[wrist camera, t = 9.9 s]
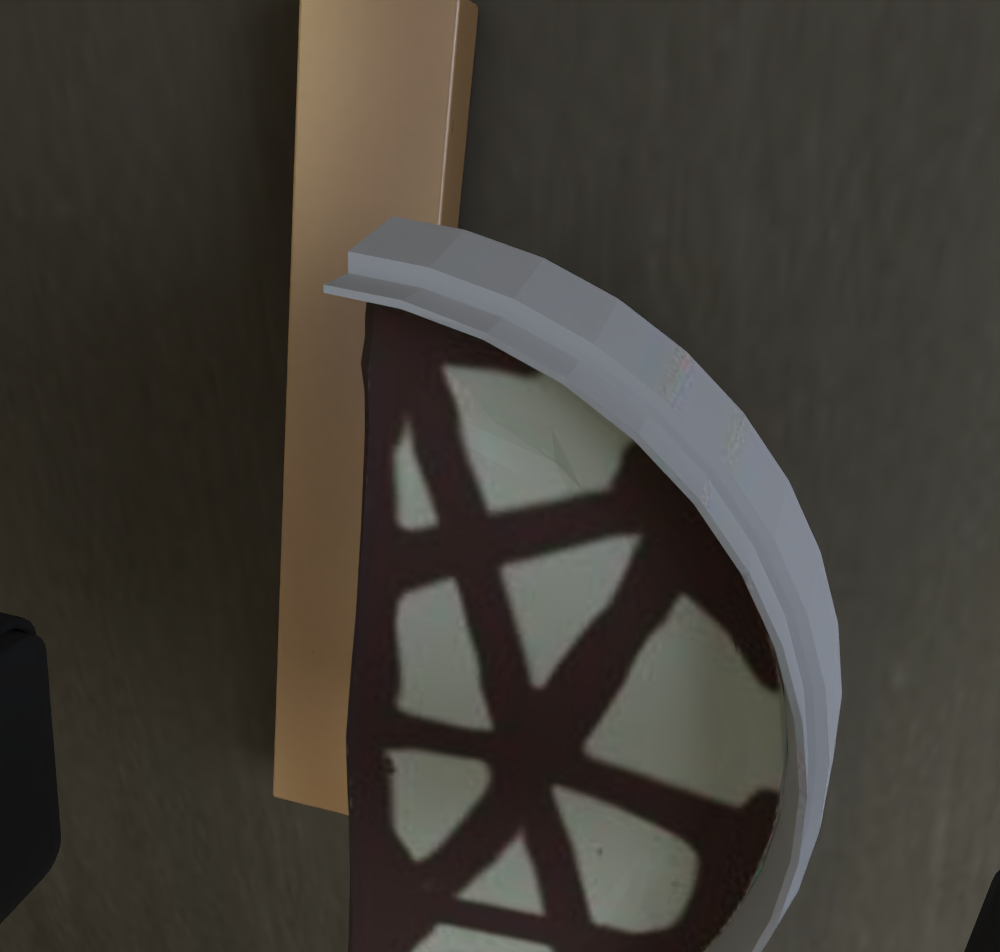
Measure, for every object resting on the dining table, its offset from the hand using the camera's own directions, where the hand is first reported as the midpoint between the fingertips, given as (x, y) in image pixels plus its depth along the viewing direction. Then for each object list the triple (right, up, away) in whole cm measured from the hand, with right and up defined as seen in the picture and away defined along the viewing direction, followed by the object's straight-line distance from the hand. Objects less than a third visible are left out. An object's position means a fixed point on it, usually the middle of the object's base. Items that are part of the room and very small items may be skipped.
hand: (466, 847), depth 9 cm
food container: (+3, +3, +11) cm, 12 cm away
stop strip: (-2, +4, +12) cm, 13 cm away
